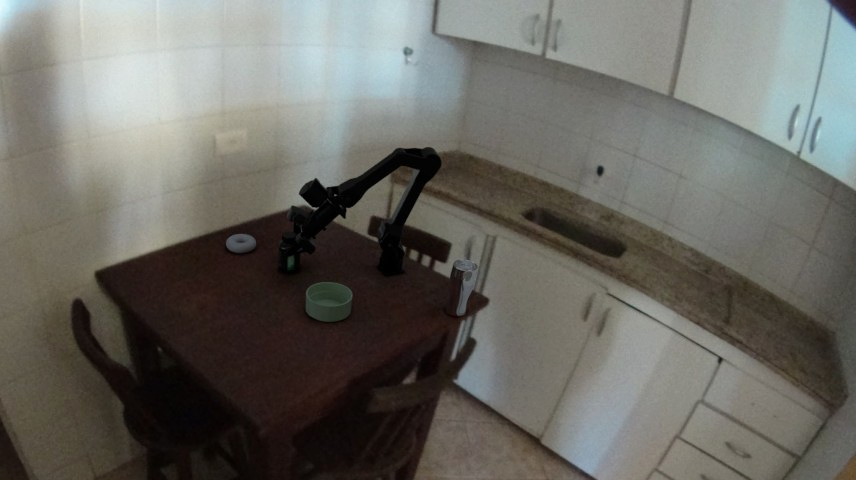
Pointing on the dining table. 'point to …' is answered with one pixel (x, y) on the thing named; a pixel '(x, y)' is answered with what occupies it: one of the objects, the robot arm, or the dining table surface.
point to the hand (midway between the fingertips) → (285, 250)
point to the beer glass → (460, 287)
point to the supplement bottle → (292, 262)
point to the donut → (241, 243)
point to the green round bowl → (328, 301)
